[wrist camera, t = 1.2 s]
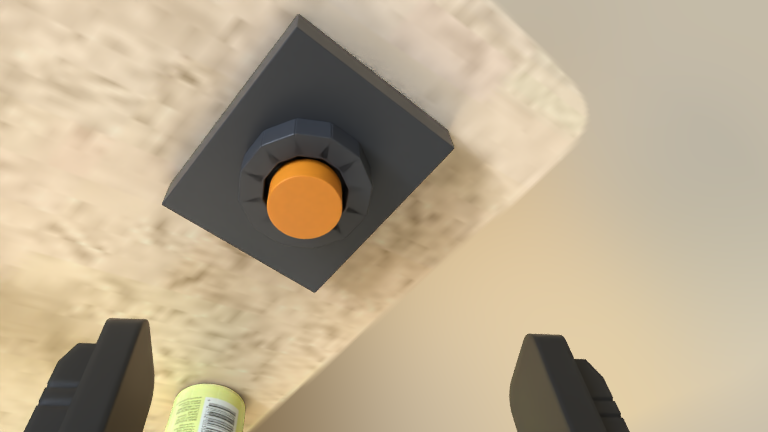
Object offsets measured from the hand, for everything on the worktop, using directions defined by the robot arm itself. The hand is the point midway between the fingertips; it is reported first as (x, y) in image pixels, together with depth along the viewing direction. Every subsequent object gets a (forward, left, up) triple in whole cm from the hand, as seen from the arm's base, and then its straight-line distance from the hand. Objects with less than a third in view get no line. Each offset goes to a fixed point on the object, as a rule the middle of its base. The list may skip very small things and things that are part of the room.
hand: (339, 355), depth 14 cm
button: (+6, +3, -18) cm, 19 cm away
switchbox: (+6, +3, -22) cm, 23 cm away
